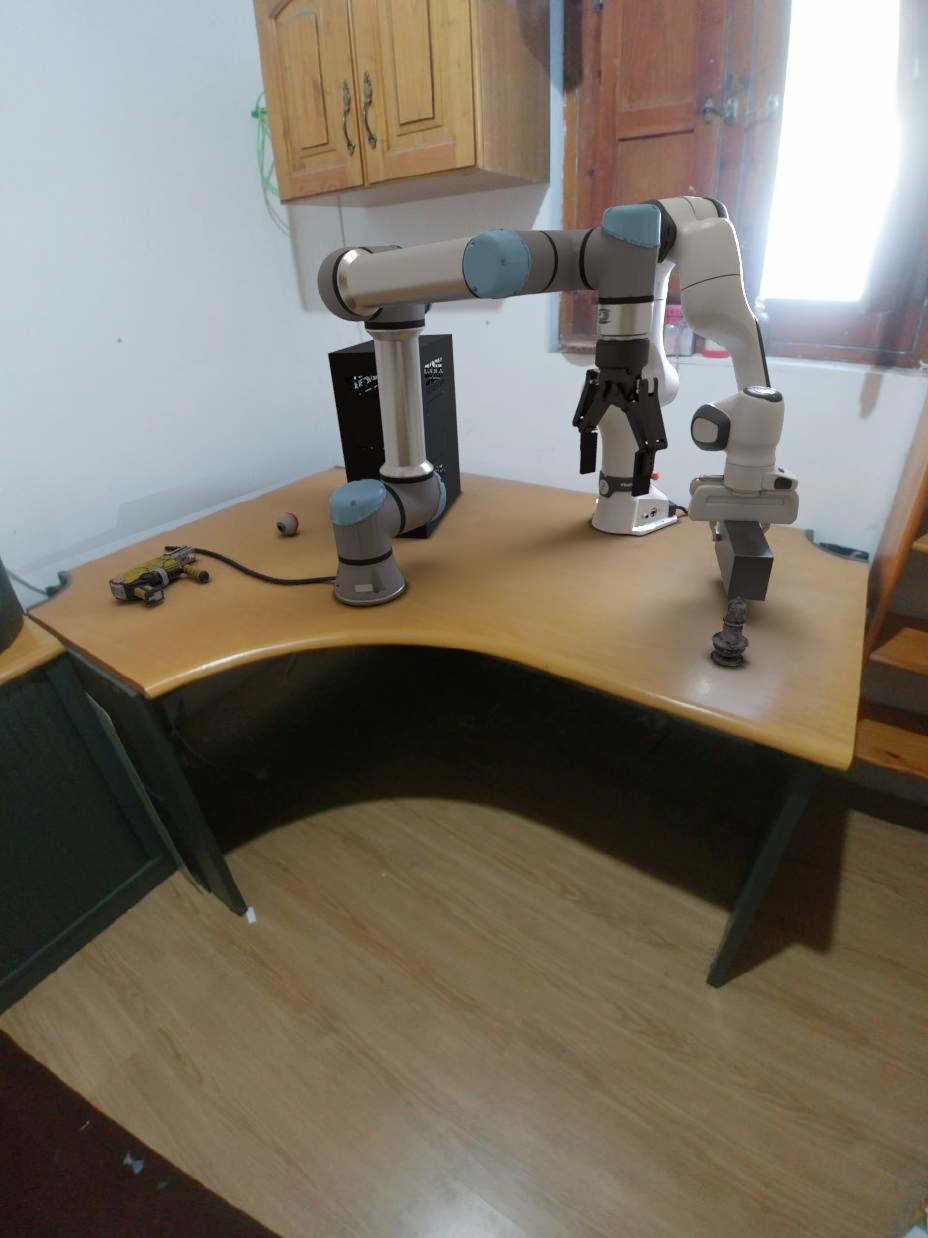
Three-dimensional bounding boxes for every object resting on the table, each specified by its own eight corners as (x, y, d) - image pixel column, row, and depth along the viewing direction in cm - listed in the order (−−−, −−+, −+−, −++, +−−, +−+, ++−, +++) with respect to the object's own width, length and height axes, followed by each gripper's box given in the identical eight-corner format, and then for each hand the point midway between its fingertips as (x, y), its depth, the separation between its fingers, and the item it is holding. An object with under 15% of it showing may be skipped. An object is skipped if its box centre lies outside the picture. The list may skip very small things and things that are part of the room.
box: (714, 548, 131) (720, 510, 127) (746, 550, 129) (753, 511, 125) (726, 598, 111) (734, 555, 107) (764, 601, 110) (774, 557, 105)
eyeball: (273, 537, 164) (268, 516, 161) (287, 528, 169) (282, 508, 166) (291, 539, 161) (286, 518, 158) (305, 530, 166) (301, 510, 163)
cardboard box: (427, 537, 157) (411, 350, 135) (355, 534, 162) (327, 353, 139) (460, 491, 189) (452, 333, 166) (399, 490, 194) (383, 336, 171)
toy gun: (232, 553, 147) (182, 542, 151) (158, 593, 127) (102, 580, 131) (234, 570, 150) (185, 559, 154) (162, 613, 130) (107, 599, 134)
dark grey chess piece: (748, 668, 101) (762, 605, 95) (711, 665, 102) (722, 603, 96) (741, 649, 106) (754, 588, 100) (706, 647, 107) (717, 586, 101)
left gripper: (553, 333, 94) (550, 468, 105) (661, 345, 74) (644, 510, 85) (593, 329, 97) (586, 461, 107) (708, 340, 77) (686, 500, 87)
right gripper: (692, 479, 118) (683, 544, 125) (807, 481, 113) (792, 549, 120) (690, 470, 123) (682, 533, 130) (800, 472, 118) (785, 537, 125)
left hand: (612, 483), depth 96 cm, fingers open, 13 cm apart
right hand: (735, 541), depth 125 cm, fingers closed on box, 6 cm apart
